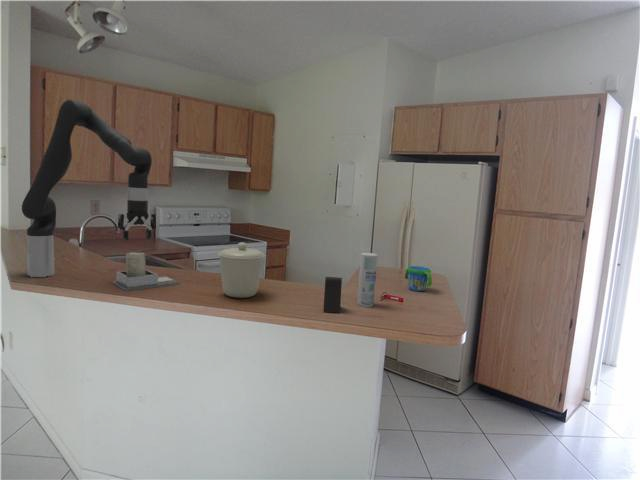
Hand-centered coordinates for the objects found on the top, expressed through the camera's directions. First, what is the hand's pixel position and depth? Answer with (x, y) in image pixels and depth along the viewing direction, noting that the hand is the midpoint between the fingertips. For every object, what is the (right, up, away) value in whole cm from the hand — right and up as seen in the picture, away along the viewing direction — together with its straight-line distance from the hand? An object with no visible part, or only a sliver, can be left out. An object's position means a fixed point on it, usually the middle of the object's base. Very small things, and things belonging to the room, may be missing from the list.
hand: (137, 239), depth 171 cm
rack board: (+2, -18, +5) cm, 19 cm away
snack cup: (+118, -23, +25) cm, 123 cm away
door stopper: (+78, -26, -14) cm, 83 cm away
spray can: (+91, -26, -5) cm, 95 cm away
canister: (+42, -22, -2) cm, 47 cm away
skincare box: (-1, -18, +2) cm, 18 cm away
